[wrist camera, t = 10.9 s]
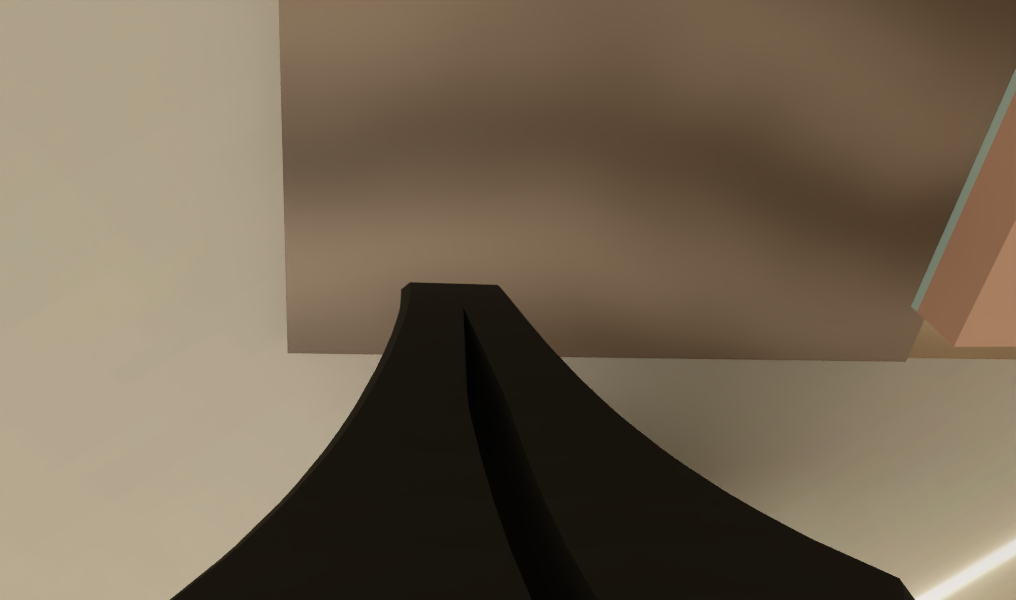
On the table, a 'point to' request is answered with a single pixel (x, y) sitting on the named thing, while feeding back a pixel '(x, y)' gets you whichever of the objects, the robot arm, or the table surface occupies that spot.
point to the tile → (979, 247)
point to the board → (636, 167)
